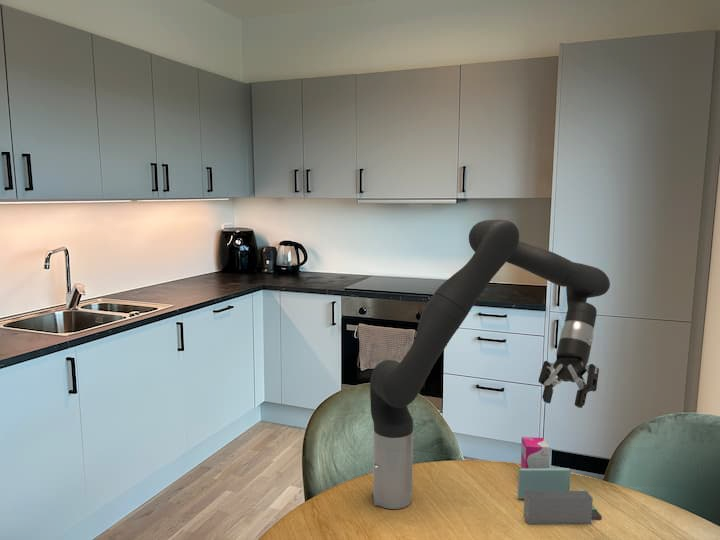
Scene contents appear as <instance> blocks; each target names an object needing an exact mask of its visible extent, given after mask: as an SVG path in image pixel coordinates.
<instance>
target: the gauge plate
mask: <svg viewBox="0 0 720 540" xmlns="http://www.w3.org/2000/svg"><path fill="white" fill-rule="evenodd" d="M517 480H518V481H517V497H518V499H521V500H522V499H524V494H525V491H571V490H570V489H571V488H570V487H571V486H570V485H571V469H570V468H569V467H564V468H563V467H561V468H560V467H559V468H558V467H556V468H551V467H549V468H521V467H520V468H518V479H517Z"/></svg>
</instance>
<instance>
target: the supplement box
mask: <svg viewBox="0 0 720 540" xmlns="http://www.w3.org/2000/svg"><path fill="white" fill-rule="evenodd" d="M520 450H521V451H520V453H521V454H520V468H550V455H551V454H550V451H551V447H550V445H549V444H548V442H547V440H546V439H545V437H532V436H531V437H528V436H527V437H526V436H522V437H521V449H520Z"/></svg>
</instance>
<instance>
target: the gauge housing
mask: <svg viewBox="0 0 720 540" xmlns="http://www.w3.org/2000/svg"><path fill="white" fill-rule="evenodd" d="M593 499H594V498H593V497H592V495H591V494H590V493H589V492H588V491H587V490H570V491H525V494H524V498H523V501H524V502H523V517H524V520H525V521H526V523H527V525H585V524H586V525H588V524H590V525H591V524H592V521H594V520H595V521H599V520H600V521H601V520H603V517H602V514H600V512H599V511H598V510H597V508H596V507H595V506H594V504H593Z"/></svg>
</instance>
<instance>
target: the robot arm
mask: <svg viewBox="0 0 720 540" xmlns="http://www.w3.org/2000/svg"><path fill="white" fill-rule="evenodd" d="M468 242H469V246H470V247H471V249H472V250H473V252H474V253H473V255H472V256H471V258H470V259H469V260H468V262H466V264H465V265H464V266H463V267H461V268H460V269H459V270H458V271H456V272H455V273H454V274H452V276H450V277H449V278H448V279H446V281H444V282H442V284H440V286H439V287H438V288H437V289H436V291H435V292H434V293H433V295H432V296H431V297H430V299H429V300H428V302H427V304H425V306H424V308H423V310H422V311H421V312H422V313H421V315H420V318H419V321H418V324H417V325H418V326H417V329H416V332H415V333H416V334H415V337H414V340H413V342H412V344H411V347H410V348H409V350H408V351H407V352H406V354H405V355H404V357H403V358H402V360H401V361H400V362H399V361H396V360H395V359H386V360H383V361H381V362H379V363H378V364H377V365H376V366H374V368H373V371H372V372H371V376H370V382H369V384H370V385H369V391H370V396H369V398H370V414H371V419H372V423H373V456H372V496H373V505H374V506H377V507H378V506H379V507H381V508H384V509H388V510H390V509H391V510H399V509H404V508H406V507H408V506H409V505H410V504H411V503H412V501H413V468H414V467H413V463H414V461H413V458H414V457H413V455H414V454H413V453H414V420H413V416H412V415H411V412H410V410H409V408H408V407H409V405H410V404H412V402H414V400H416V398H417V396H418V395H419V394H420V392H421V391H422V389H423V386H424V385H425V383H426V380H427V379H428V376H429V375H430V374H431V372H432V369H433V368H434V365H435V364H436V363H437V360H438V359H439V358H440V356H441V354H442V353H443V352H444V351H445V348H446V347H447V345H448V344H449V343H450V340H451V339H452V337H454V335H455V333H456V332H457V331H458V330H459V328H460V327H461V325H462V324H463V322H464V320H465V319H466V318H467V316H468V315H469V313H470V312H471V310H472V308H473V307H474V306H475V304H476V302H477V301H478V300H479V298H480V297H481V295H482V294H483V292H485V289H486V288H487V287H488V285H489V284H490V282H491V281H492V279H493V278H494V277H495V276H496V275H497V273H498V272H499V271H500V269H501V268H503V266H504V265H505V264H506V263H508V264H511V265H514V266H515V267H518V268H521V269H523V270H525V271H526V272H530V273H531V274H534V275H535V276H537V277H540V278H542V279H543V280H546V281H548V282H551V284H555V285H556V286H559V287H564V288H565V290H566V292H565V293H566V304H567V305H566V306H567V311H566V314H565V320H564V324H563V326H562V329H561V333H560V336H559V341H558V345H557V350H556V360H555V361H554V362H550V361H547V360H545V361H543V364H542V366H541V367H542V368H541V369H540V372H539V373H540V375H539V376H538V383H540V384H541V385H543V386H544V388H543V392H542V396H541V397H542V400H543V402H544V403H546V404H551V402H552V398H553V393H554V388H555V387H556V386H557V385H559V384H561V383H562V382H564V383H565V382H571V383H576V385H577V388H578V389H577V391H576V396H575V401H574V406H575V407H577V408H579V409H581V408H583V406H585V404H586V399H587V394H588V393H589V392H596V391H597V389H598V382H599V381H598V379H599V373H600V368H599V367H597V366H596V365H595V364H593V363H590V364H589V365H588V363H589V359H590V354H591V351H592V350H591V349H592V346H593V338H594V329H595V325H596V319H597V313H598V312H597V308H596V307H595V305H593V304H591V303H589V302H587V300H588V299H589V298H596V297H600V296H603V295H605V294H606V293H607V292H608V291H609V289H610V286H611V284H610V283H611V282H610V279H609V277H608V275H607V274H606V272H604V271H603V270H602V269H600V268H599V267H595V266H592V265H588V264H583V263H579V262H574V261H572V260H570V259H568V258H567V257H564V256H561V255H560V254H558V253H555V252H552V251H550V250H548V249H544V248H541V247H537V246H534V245H531V244H529V243H526V242H523V241H521V240H520V232H519V228H518V227H517V225H516V224H515V223H514V222H512V221H510V220H507V219H486V220H482V221H479V222H477V223H476V224H474V225H472V227H471V229H470V231H469V234H468ZM586 373H587V378H586V379H585V378H584V375H585V374H586Z"/></svg>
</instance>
